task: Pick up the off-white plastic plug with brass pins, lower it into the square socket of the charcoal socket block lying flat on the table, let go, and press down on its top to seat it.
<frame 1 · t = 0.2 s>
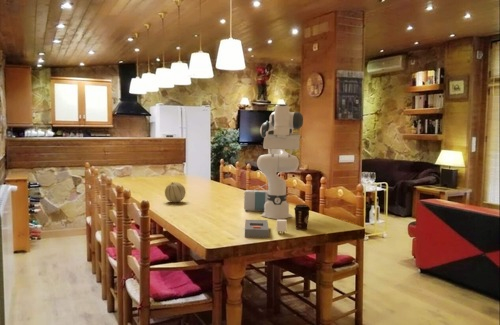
hand: (280, 157, 229), 39 cm above the table, tool pointing down, fingers open, 8 cm apart
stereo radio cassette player: (259, 210, 275), on the table
cantaloupe: (175, 202, 298), on the table
socket block: (256, 231, 217), on the table
coffee cup: (301, 229, 226), on the table
plug: (281, 233, 215), on the table
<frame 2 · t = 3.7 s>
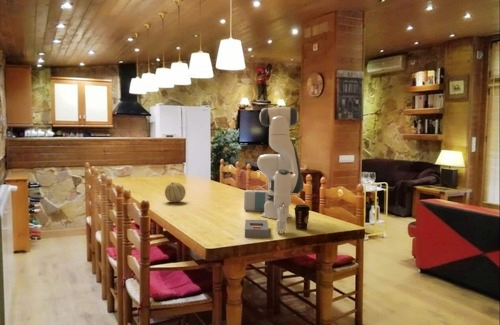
hand: (281, 227, 215), 3 cm above the table, tool pointing down, fingers closed on plug, 3 cm apart
plug: (281, 233, 215), on the table, touching gripper
everything else where it was.
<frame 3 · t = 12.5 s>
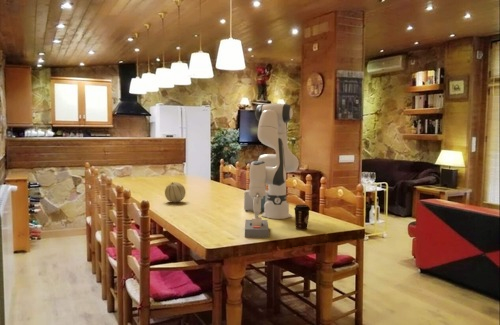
hand: (256, 217, 216), 8 cm above the table, tool pointing down, fingers closed, pressing on plug
plug: (256, 230, 217), point 1 cm above the table, touching gripper, socket block
everything else where it was.
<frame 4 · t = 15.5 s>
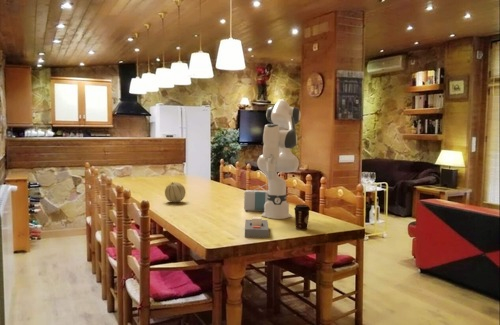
hand: (270, 179, 222), 27 cm above the table, tool pointing down, fingers closed
plug: (256, 230, 217), resting on socket block
everything else where it was.
at the end: plug 0.0 cm off-centre on the socket block, point 0.5 cm above the socket block's base; plug tilted 0°; the gripper is holding nothing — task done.
